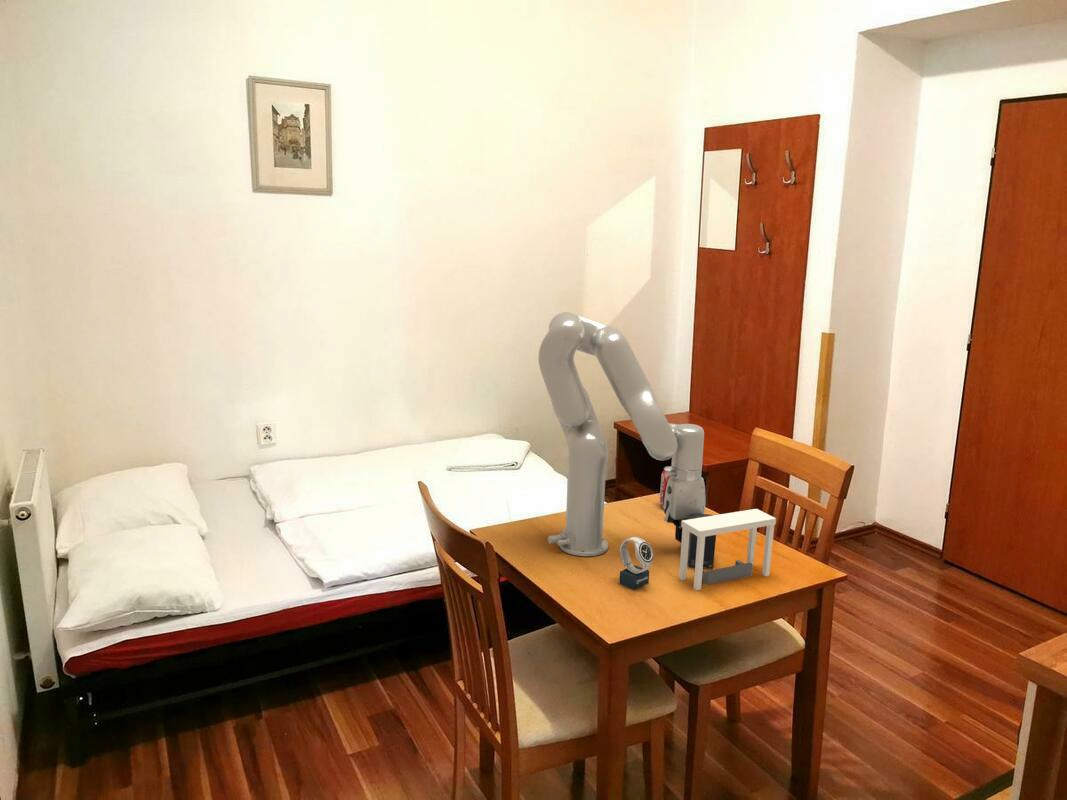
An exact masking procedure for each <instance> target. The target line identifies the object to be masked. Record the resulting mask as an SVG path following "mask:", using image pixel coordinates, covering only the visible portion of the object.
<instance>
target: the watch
mask: <svg viewBox="0 0 1067 800" xmlns="http://www.w3.org/2000/svg"><path fill="white" fill-rule="evenodd" d="M629 542H633V545H634V548H635V549H634V552H635V553H634V554H635V558H636V559H637V560H638V562H640V565H641V566H639V565H637V564H633V563H632V562H633V561H632V559H631V556H630V552H629V550H628V543H629ZM619 554H620V559H621V561H622V564H623V566H624V567H625V568H624V569H623V570H620V571H619V582H618V584H619V585H621V586H623V587H625V588H627V589H630V590H633V591H636V590H638V589H639V588H641V587H644V586H646V585H648V584H649V582H650V570H649V569H650V567H651V565H652V564H653V560H654V549H653V548H652V546H651V544H650V543H649V542H647V541H645V539H643V538H640V537H639V536H638V537H637V536H632V537H630V538H627V539H624V540H623V541H622V542H621V544H620V548H619Z"/></svg>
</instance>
